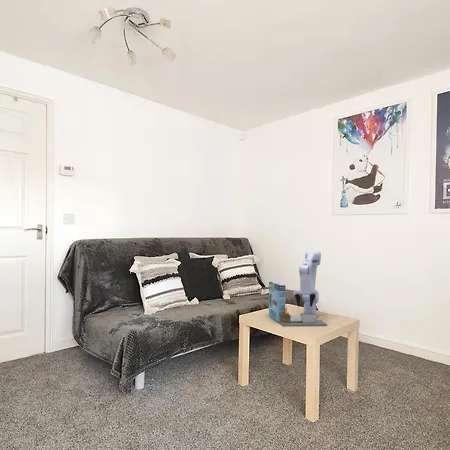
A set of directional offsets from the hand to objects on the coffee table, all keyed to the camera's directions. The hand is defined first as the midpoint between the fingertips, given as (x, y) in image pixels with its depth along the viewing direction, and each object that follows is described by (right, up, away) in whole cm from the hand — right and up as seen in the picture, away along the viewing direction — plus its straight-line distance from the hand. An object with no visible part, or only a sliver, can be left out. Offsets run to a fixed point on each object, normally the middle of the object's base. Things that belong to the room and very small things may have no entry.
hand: (304, 306), depth 206 cm
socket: (-13, -10, -4) cm, 17 cm away
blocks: (-7, -8, -4) cm, 11 cm away
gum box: (-16, -10, +8) cm, 21 cm away
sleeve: (+1, -9, -3) cm, 9 cm away
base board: (-2, -10, -3) cm, 11 cm away
